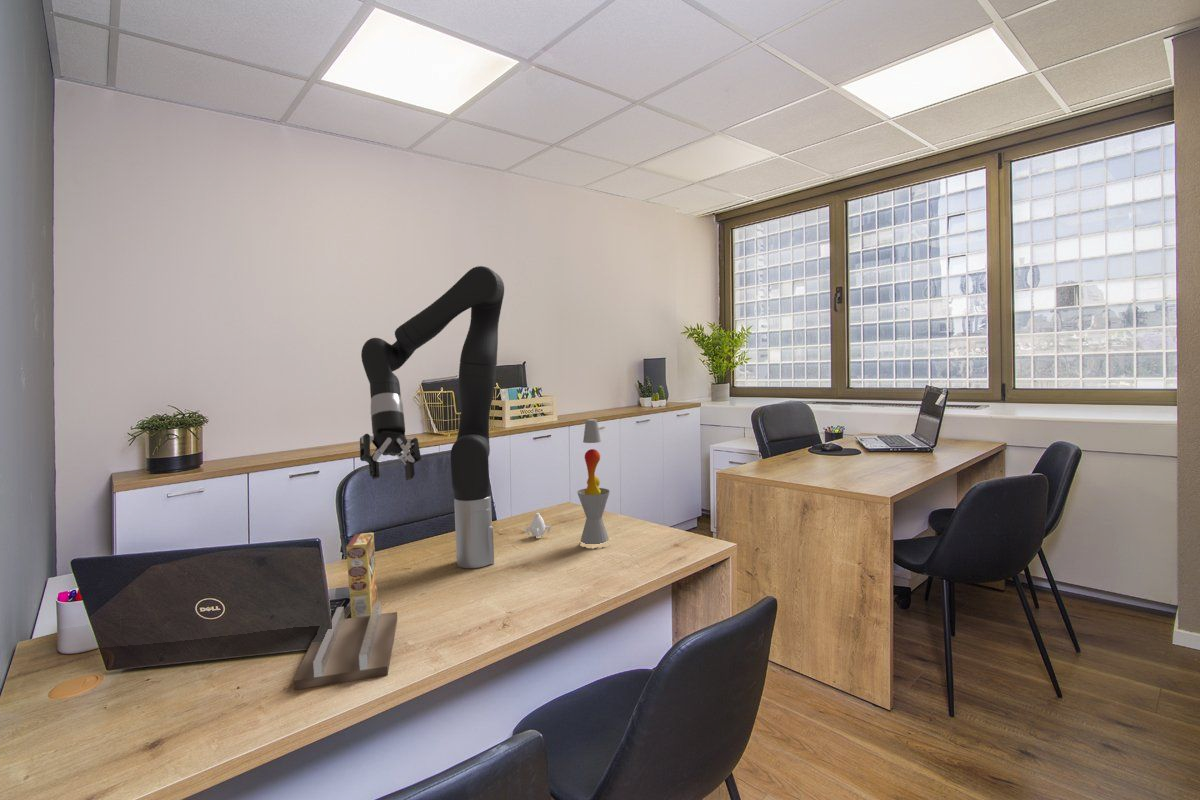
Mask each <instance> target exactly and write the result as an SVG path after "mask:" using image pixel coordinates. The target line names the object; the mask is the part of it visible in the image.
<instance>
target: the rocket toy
mask: <svg viewBox="0 0 1200 800" xmlns="http://www.w3.org/2000/svg"><path fill="white" fill-rule="evenodd" d="M536 512H537V513H535V515H534V517H533V518H532V521H531V523H530V524H531V525H529V526H525V527H524V529H525V532H526V533H527V536H528V535H529V536H530V533H529V531H530V532H531V534H532V536H533V537H534V536H537V537H538V536H540V535H543V534H545V531H546V530H547V534H548V533H549V534H550V531H551V529H552V526H551V525H546V524H545V520H544V519H543V517H542V515H540V514H541V513H540V512H539V511H536ZM543 536H544V535H543Z"/></svg>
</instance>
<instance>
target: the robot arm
mask: <svg viewBox="0 0 1200 800" xmlns="http://www.w3.org/2000/svg"><path fill="white" fill-rule="evenodd" d="M504 296H505V284H504V281H503V279H502V278H501V276H500V275H499V274H498V273H497V272H495V271H494V270H493V269H491V268H489V267H487V266H483V265H477V266H475V267H472V268H471V269H469V270H467V272H465V273H464V275H463V276H461V278H460V279H459V280H457V282H455V284H454V285H452V286H451V287H450V288H449V289H447V291H446V292H445V293H443V295H441V296H440V297H438V298H437V299H436V300H435V301H434V302H432V303H431V304H430V305H428V306H427V307H426V308H424V309H423V310H422V311H420V312H419V313H417V314H416V315H414V316H413V317H411V318H410V319H408V320H407V321H404V323H403V324H401V325H399V326H398V327H397V328H396V329H395V331H394V337H395V342H394V343H393V344H392V343H389V342H387V341H386V340H384V339H382V338H379V337H371V338H369V339H368V340H366V341H365V342H364V344H363V346H362V348H361V362H362V366H363V369H364V372H365V375H366V377H367V381H368V383H369V391H370V392H369V393H370V394H369V395H370V418H371V419H370V420H371V431H372V435H370V434H369V433H365V434H363V435H362V436H361V437H360V438H359V459H360V461H361V462H366V463H367V464H368V468H369V476H370V477H371V478H372V480H377V479H379V478H380V463H379V461H378V460H379V459H380V457H381V455H382V456H391V457H392V456H393V457H397V458H398V459H399V460H401V461H402V463H404V472H405V473H404V474H405V480H406V481H411V480H412V479H414V477H415V474H416V472H415V464H416V463H418V462H419V461H421V460H422V456H421V451H420V445H419V439H418V438H417V437H414V438H407V436H406V423H405V413H404V404H403V401H402V396H401V386H400V385H401V384H400V380H399V378H398V376H397V375H396V374H395V373H394V372H395V371H397V370H399V369H400V368H401V367H402V366H403V365H405V363H406V362H407V361H408V360H409V358H411V356H412V355H413V354H414V353H415V351H417V350H418V349H419V348H421V347H422V346H424V345H425V344H427V343H428V342H430V341H431V340H433V338H435V337H437V335H439V334H440V333H441V332H442V331H443V330H444V329H445V328H446V327H447V326H448V325H449V324H450V323H451V321H453V320H454V319H455V318H457V317H458V316H459V315H460V314H462V313H464V312H465V311H467V310H469V309H470V322H469V323H470V324H469V328H468V331H467V334H466V337H465V340H464V343H463V345H462V349H461V353H460V359H459V369H458V370H459V371H458V394H459V404H460V420H459V427H458V433H457V436H456V440H455V442H454V443H453V445H452V446H451V450H450V470H451V487H452V491H453V501H454V502H453V508H454V526H455V529H454V530H455V531H454V532H455V550H456V566H458V567H460V568H464V569H478V568H483V567H487V566H489V565H494V564H495V550H494V549H495V547H494V543H495V542H494V528H493V521H492V517H493V516H492V497H491V495H492V492H491V483H490V470H489V469H490V468H489V467H490V464H489V456H490V453H491V451H490V450H491V449H490V447H491V446H490V413H491V407H492V404H493V403H492V402H493V398H494V397H493V396H494V392H495V384H496V376H497V367H498V366H497V365H498V361H497V360H498V347H499V346H498V344H499V342H498V341H499V323H500V322H499V321H500V316H501V311H502V307H503V302H504V301H503V299H504ZM371 444H373V445H374V447H375V449H374V450H373V452H372V453H371ZM406 445H407V446H406Z"/></svg>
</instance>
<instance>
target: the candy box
mask: <svg viewBox="0 0 1200 800" xmlns="http://www.w3.org/2000/svg"><path fill="white" fill-rule="evenodd" d="M345 547H346V549H345V550H346V561H347V562H346V563H347V576H348V590H349V592H348V593H349V602H350V618H355V617H363V616H370V615H371V612H372V609H373V605H374V603H375V602H379V593H378V582H377V581H378V580H377V568H376V566H377V565H376V564H377V563H376V549H375V534H374V532H364V533H355V534H354V535H353V536H352V537H351V539H350V541H349V543H348V544H347V545H346V546H345Z"/></svg>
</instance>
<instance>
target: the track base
mask: <svg viewBox="0 0 1200 800" xmlns="http://www.w3.org/2000/svg"><path fill="white" fill-rule="evenodd" d="M381 604H382V603H381V601H378V602H375V603H374V605H373V609H372V612H371V615H370V616H363V617H355V618H351V617H348V618H346V617H345V606H339V607H336V609H335V612H334V614H333V616H332V618H331V621H332V629H328V630H327V632H326V634H325V637H324V639H323V641H322V642H312V641H311V643H310V645H309V647H308V649H307V651H306V654H305V656H304V658H303V659H302V662H301V664H300V667H299V668H298V670H297V673H296V675H295V677H294V678H293V690H294V691H296V690H297V691H298V690H303V689H307V688H315V687H321V686H327V685H333V684H339V683H345V682H352V681H357V680H365V679H371V677H372V678H377V677H383V676H384V675H385V676H388V675H389V670H390V664H391V660H392V659H391V657H392V654H393V652H392V651H393V648H394V647H393V646H394V640H395V635H396V630H397V623H398V612H397V611H394V612H388V613H382V605H381Z"/></svg>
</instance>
